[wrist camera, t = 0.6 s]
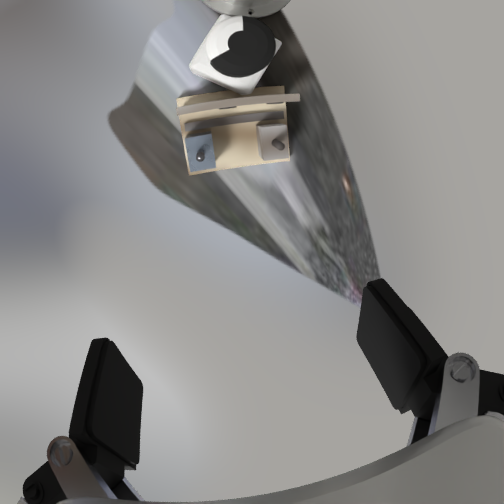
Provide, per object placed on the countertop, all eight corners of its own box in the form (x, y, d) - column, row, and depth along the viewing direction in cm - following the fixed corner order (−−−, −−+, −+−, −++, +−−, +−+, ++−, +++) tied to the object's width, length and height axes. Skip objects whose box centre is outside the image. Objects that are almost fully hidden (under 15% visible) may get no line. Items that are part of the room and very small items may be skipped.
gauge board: (177, 98, 30) (169, 98, 23) (281, 86, 31) (303, 83, 24) (189, 173, 35) (186, 193, 28) (287, 158, 36) (308, 175, 29)
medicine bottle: (268, 51, 28) (298, 32, 18) (241, 96, 31) (259, 94, 21) (218, 27, 26) (225, -4, 16) (191, 73, 29) (183, 60, 18)
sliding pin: (186, 135, 31) (182, 141, 26) (210, 130, 31) (212, 136, 27) (191, 165, 33) (189, 178, 28) (215, 161, 33) (217, 173, 29)
